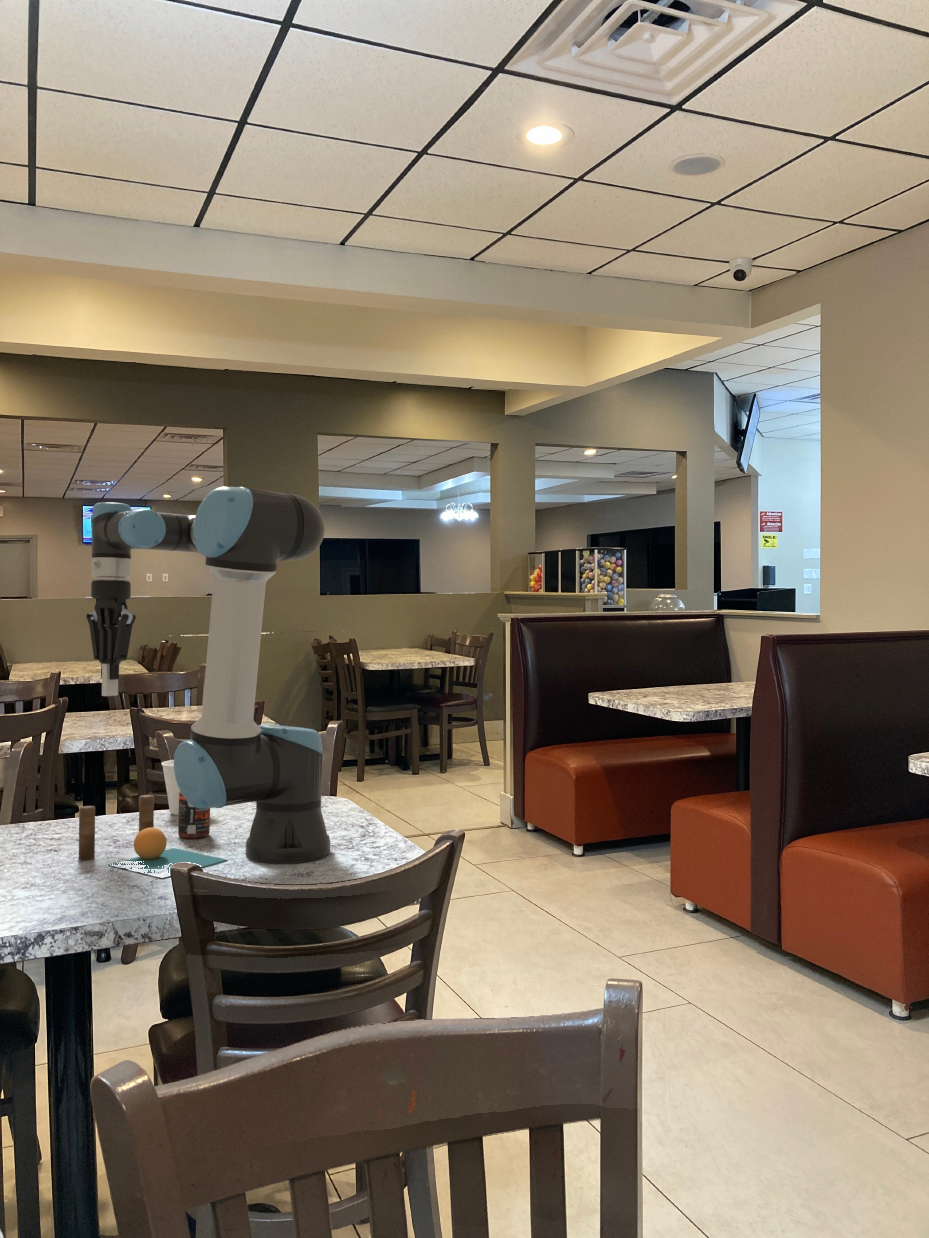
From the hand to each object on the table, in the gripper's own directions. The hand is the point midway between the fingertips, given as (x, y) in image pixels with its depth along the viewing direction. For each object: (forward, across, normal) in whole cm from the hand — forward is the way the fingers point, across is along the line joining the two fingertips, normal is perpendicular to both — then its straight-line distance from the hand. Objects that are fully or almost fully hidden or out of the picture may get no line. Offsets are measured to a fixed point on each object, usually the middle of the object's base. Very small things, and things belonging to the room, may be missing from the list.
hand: (109, 695), depth 191 cm
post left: (+26, +19, -18) cm, 37 cm away
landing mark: (+26, +33, -12) cm, 44 cm away
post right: (+26, +19, -6) cm, 33 cm away
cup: (+27, +3, +17) cm, 32 cm away
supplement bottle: (+27, +21, +4) cm, 34 cm away
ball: (+24, +28, -12) cm, 39 cm away
